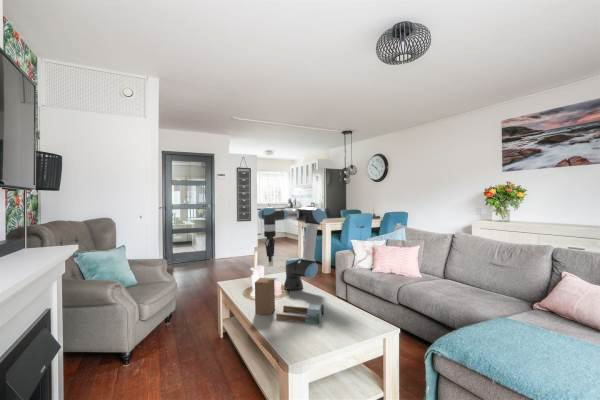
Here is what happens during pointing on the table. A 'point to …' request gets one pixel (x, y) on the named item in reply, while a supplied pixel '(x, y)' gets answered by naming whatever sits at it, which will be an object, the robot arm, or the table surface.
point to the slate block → (314, 310)
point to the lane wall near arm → (300, 309)
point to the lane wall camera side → (298, 318)
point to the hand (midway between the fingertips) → (270, 266)
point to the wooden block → (264, 296)
